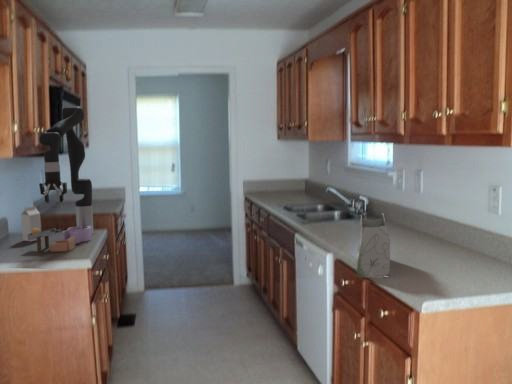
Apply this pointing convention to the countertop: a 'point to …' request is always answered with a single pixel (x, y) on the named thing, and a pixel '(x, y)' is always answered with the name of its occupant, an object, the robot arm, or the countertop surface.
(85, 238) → the clip
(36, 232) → the ball
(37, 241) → the stand
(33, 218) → the milk carton
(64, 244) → the cup
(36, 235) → the tipping track
